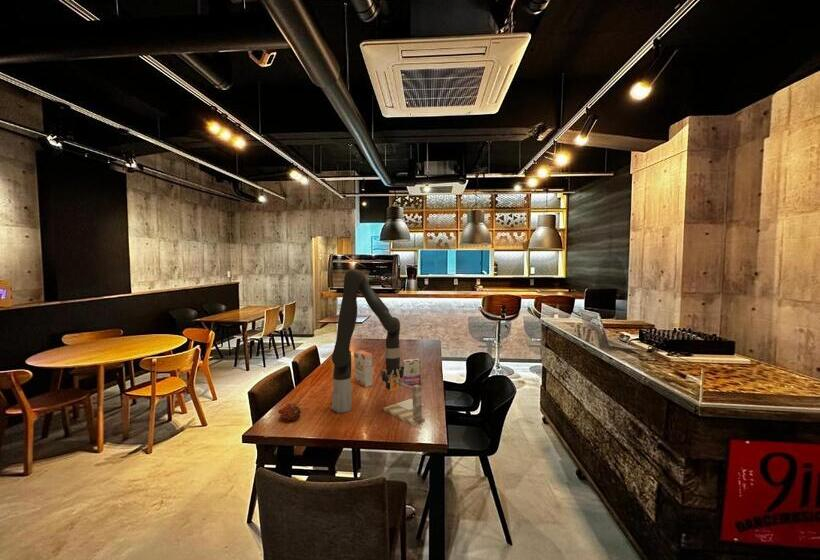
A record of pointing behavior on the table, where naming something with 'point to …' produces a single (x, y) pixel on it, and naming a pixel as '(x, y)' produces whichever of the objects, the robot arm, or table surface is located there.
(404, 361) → the candy bar box
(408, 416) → the hook stand
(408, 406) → the mat
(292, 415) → the brown rounded piece
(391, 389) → the loop
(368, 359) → the cracker box
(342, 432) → the table surface
